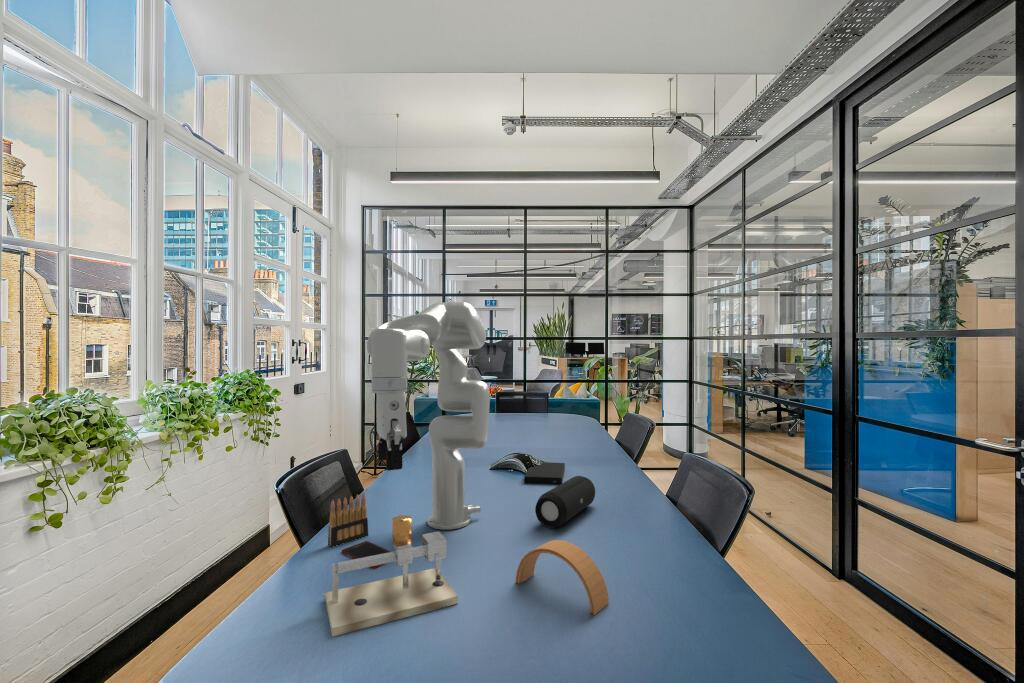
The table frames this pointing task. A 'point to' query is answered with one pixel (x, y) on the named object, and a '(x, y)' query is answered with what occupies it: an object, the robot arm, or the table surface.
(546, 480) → the external hard drive
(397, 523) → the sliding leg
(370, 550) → the cell phone
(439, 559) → the frame
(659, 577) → the table surface
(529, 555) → the arch
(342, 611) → the hole plate
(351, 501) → the ammunition clip
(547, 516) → the portable speaker
